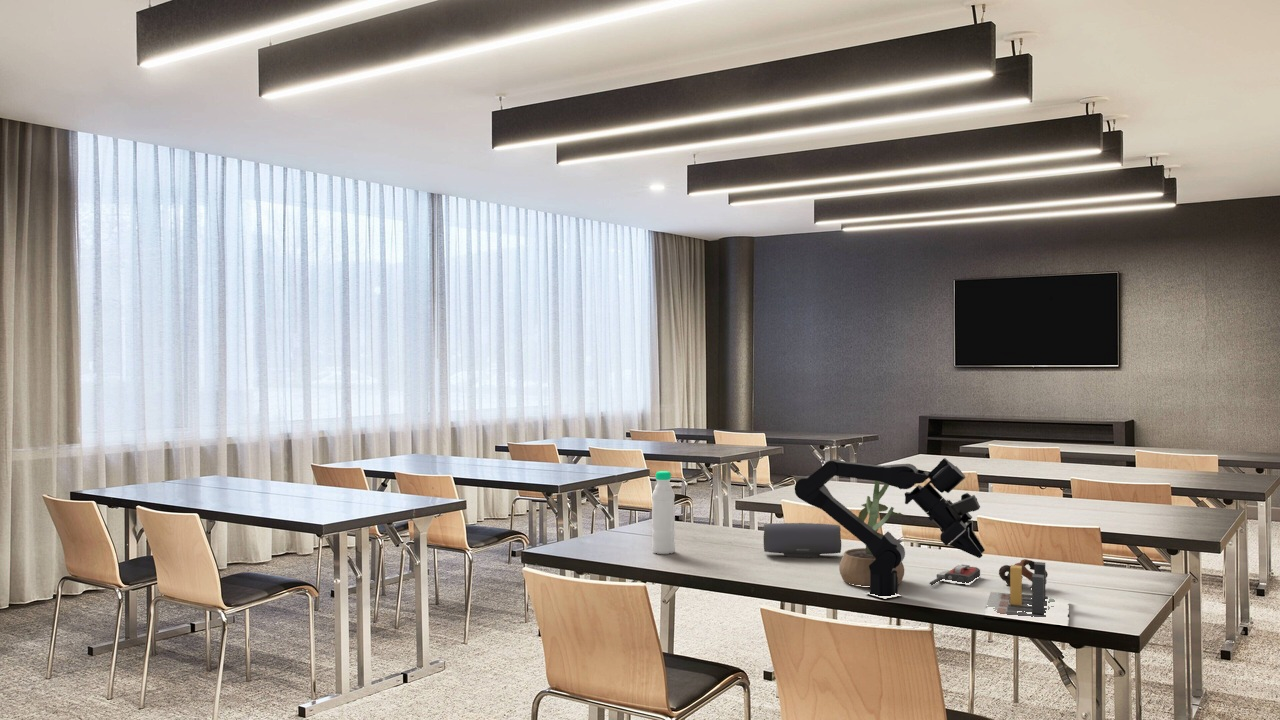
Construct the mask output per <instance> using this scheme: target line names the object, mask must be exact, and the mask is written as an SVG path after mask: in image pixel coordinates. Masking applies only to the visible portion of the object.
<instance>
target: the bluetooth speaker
mask: <svg viewBox="0 0 1280 720" xmlns="http://www.w3.org/2000/svg"><path fill="white" fill-rule="evenodd" d="M763 552H765V553H770V554H771V553H773V554H783V556H785V557H786V556H790V557H789V558H820V556H821V555H831V554H840V553H841V552H842V538H841V525H840V524H831V523H830V524H829V523H828V524H827V523H813V522H810V523H808V522H790V523H789V522H784V523H783V522H782V523H781V522H779V523H777V522H776V523H766V524H763Z"/></svg>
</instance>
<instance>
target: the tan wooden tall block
mask: <svg viewBox="0 0 1280 720" xmlns="http://www.w3.org/2000/svg"><path fill="white" fill-rule="evenodd" d="M1010 566H1011V567H1010V585H1009V586H1010V587H1009V588H1010V593H1009V594H1010V604H1013V605H1022V594H1023V578H1022V577H1023V575H1022V566H1017V565H1015V564H1011V565H1010Z"/></svg>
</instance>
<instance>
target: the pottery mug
mask: <svg viewBox="0 0 1280 720" xmlns="http://www.w3.org/2000/svg"><path fill="white" fill-rule="evenodd" d="M1035 562H1036V561H1033V560H1030V559H1021V560H1020V562H1016V563H1015V564H1014V565H1017V566H1022V579H1023V577H1025V578H1026V579H1028V581H1031V582H1032V575H1033V574H1034V572H1032V571H1034V563H1035ZM1027 565H1028V566H1029V569H1028V568H1027V567H1026V566H1027ZM1010 567H1011V565H1010V564H1009V565H1008V564H1004V565H1002V566H1001V567H1000V568H999V570H998V575H999V577H1000V579H1002V581H1004V582H1005V584H1006V583H1007V584H1008V586H1010ZM1030 570H1032V571H1030ZM1006 573H1007V575H1006ZM1047 578H1048V571H1047V570H1046V569H1045V586H1046V585H1047ZM1030 588H1032V585H1031V586H1030ZM1030 588H1029V589H1030Z"/></svg>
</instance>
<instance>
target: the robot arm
mask: <svg viewBox="0 0 1280 720" xmlns="http://www.w3.org/2000/svg"><path fill="white" fill-rule="evenodd" d="M965 475H966V474H964V473H963V472H962V471H961V470H960V468H959V467H958V466H957V465H956V466H955V465H954V464H953V463H952V462H950V461H949V460H948V459H947V458H946V457H943V459H941V460H940V461H939V463H938V464H937V465H936V466H935V467H934V468H932V470H929V471H928V470H923V469H918V468H917V467H916V466H915V465H914V464H911V463H896V464H887V465H881V464H870V463H862V462H853V461H845V460H839V459H835V458H831V459H830V460H828V461H826V462H824V464H823V465H822V466H821V467H819V468H818V469H817V470H816V471H814V472H813V473H812V474H810V475H806V476H804V477H802V478H800V479H798V480H797V481H796V482H795V485H794V494H795V495H796V497H797V498H798V499H800V500H801V501H803V502H805V503H806V504H808V505H811V506H813V507H816V508H818V509H820V510H822V511H823V512H824V513H826V514H827V515H829V517H830V518H832V519H833V520H834V521H836V522H837V523H838V525H840V526H841V527H843V528H844V529H845V530H847V531H848V532H849V533H851V535H853V536H854V537H856V538H857V539H858V540H859V541H860V542H861V543H863V544H864V545H865V547H866V546H867V547H868V549H869V550H870V552H871V553H872V555H873V556H874V557H875V558H876V559H875V560H874V561H873V562H872V563H871V564H870V565H869V569H870V588H869V590H870V591H869V592H870V594H875V595H878V596H891V595H895V593H899V591H898V590H899V589H898V586H899V584H898V577H897V571H895V570H894V569H896V567H897V566H898V565H899V564H900V563H901V562H902V563H903V561H904V559H905V557H906V551H905V547H904V546H903V545H902V540H900V539H897V538H896V537H895V536H893V534H892V533H891V532H890V531H887V532H885V534H882V533H880V532H878V531H877V532H876V531H875V530H874V529H872V528H871V527H870V526H869V525H867V524H868V523H866V522H865V521H862V520H861V519H860V518H859V517H858V516H857V515H856V514H855V513H854V512H852V511H851V510H850V509H849V508H847V506H845V505H844V504H842V503H841V502H840V501H838V499H836V498H835V497H834V496H833V495H832V493H831V492H830V490H829V489H828V487H827V486H826V484H827V483H828V482H830V481H831V480H832V479H833V478H834V477H843V478H844V477H845V478H850V479H859V480H868V481H874V482H875V481H880V483H884V484H885V483H886V484H888V485H889V486H891V487H895V488H898V489H899V488H901V490H909V489H911V488H913V487H914V486H916V484H918V485H917V486H916V487H915V488H914V489H912V490H911V491H910V492H907V491H906V492H904V497H905V498H904V504H905V505H908V504H909V503H911V502H912V500H913V502H915V504H916V505H918V507H919V508H920V509H921V510H922V511H923V512H924V513H925V515H927V516H928V520H930V521H933V522H934V523H935V524H936V525H937V526H938V527H939V528H940V532H941V533H940V535H939V536H940V539H939V540H940V541H941V542H942V544H944V545H945V546H950V547H953V548H956V549H958V550H960V551H962V552H965V553H967V554H969V555H972V556H974V557H976V558H978V559H980V558H982V557H983V553H984V552H985V551H986V549H985V548H984V546H983V544H982V543H981V540H979V538H978V536H977V535H976V533H975V531H974V529H973V528H974V527H973V525H974V521H973V519H972V518H973V516H972V515H971V512H973V513H974V512H976V511H978V510H980V508H981V505H980V504H979V501H978V498H977V497H976V495H975V494H973V495H971V494H970V493H969V492H966V493H963V494H961V497H960V500H957V501H955V502H952V501H951V500H950V499H946V498H945V497H943V496H942V494H943V493H944V492H945V493H947V494H949V493H950V492H951V491H952V490H954V489H955V488H956V487H957V486H958V485H959V484H961V482H963V481H964V480H965V479H966V476H965ZM928 479H929V481H928V482H927V483H926V484H925V485H923V486H921V485H919V484H923V483H924V482H926V481H927V480H928ZM937 490H938V491H937ZM940 493H941V494H940ZM969 521H970V522H969Z"/></svg>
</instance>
